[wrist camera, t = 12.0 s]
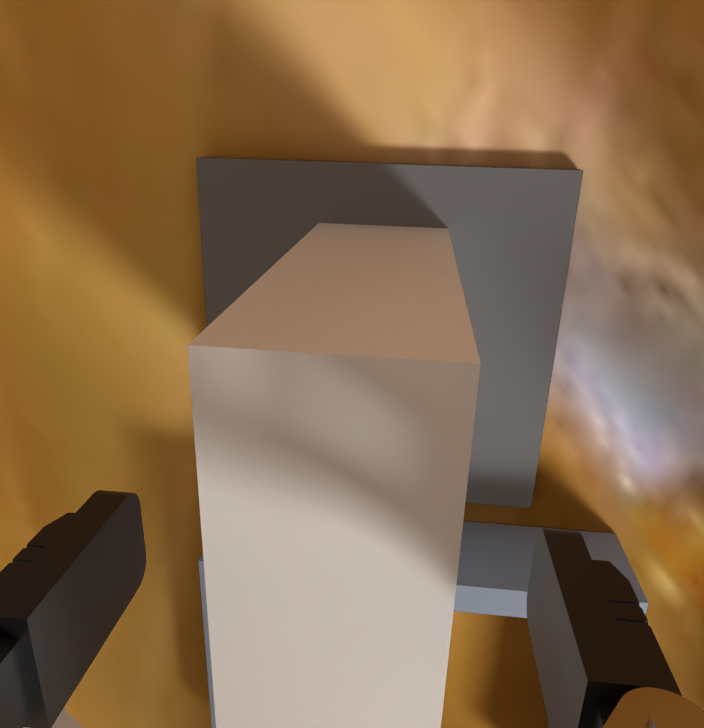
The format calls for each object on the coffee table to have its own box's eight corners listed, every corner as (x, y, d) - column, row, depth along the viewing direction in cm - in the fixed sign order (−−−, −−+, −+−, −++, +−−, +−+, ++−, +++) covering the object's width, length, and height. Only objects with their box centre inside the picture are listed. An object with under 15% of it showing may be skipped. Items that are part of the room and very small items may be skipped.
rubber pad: (528, 499, 25) (530, 508, 25) (220, 474, 27) (216, 482, 26) (578, 169, 21) (583, 170, 20) (201, 157, 22) (196, 157, 21)
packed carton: (448, 228, 21) (481, 363, 9) (429, 457, 24) (435, 779, 12) (318, 223, 22) (188, 344, 10) (317, 448, 25) (218, 751, 13)
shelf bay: (564, 768, 31) (584, 856, 27) (241, 729, 32) (218, 808, 28) (615, 534, 26) (648, 603, 22) (229, 501, 27) (198, 561, 23)
